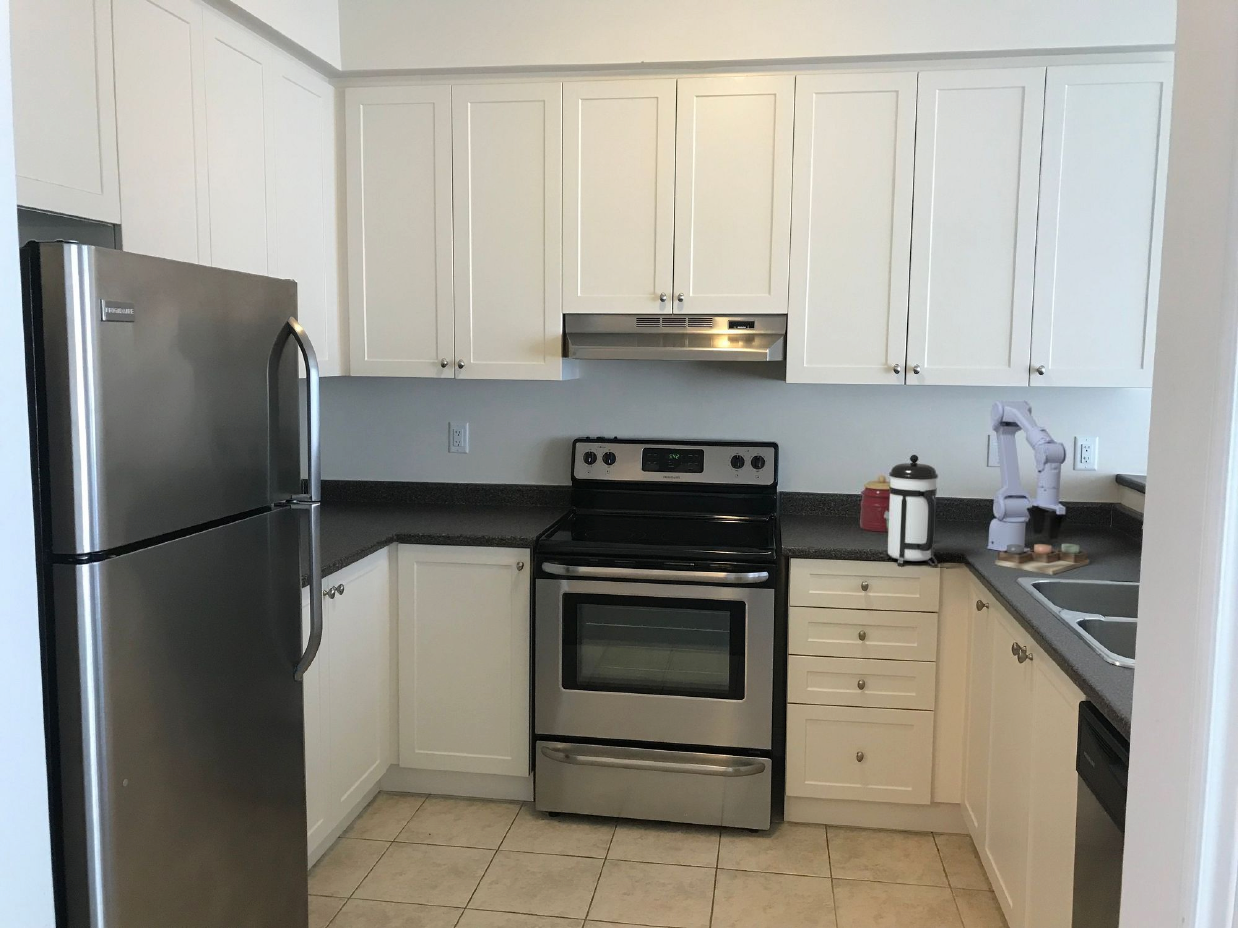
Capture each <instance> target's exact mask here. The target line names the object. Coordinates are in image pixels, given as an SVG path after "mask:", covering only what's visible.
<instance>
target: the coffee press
mask: <svg viewBox="0 0 1238 928" xmlns="http://www.w3.org/2000/svg"><path fill="white" fill-rule="evenodd" d="M909 460H910V462H908V463H907V462H904V463H899V464H896V465H894V466H893V467H892V469H891V471H889V475H888V476H889V477H890V481H889V482H890V486H889V493H890V505H889V530H888V537H887V550H886V551H885V553H884V554H883V559H884V560H889V559H890V558H893V559H897V567H901V568H902V567H904V566H905V563H906V562H907V561H908V562H909V561H910V562H922V561H924V562H927V563H929V565H930V566H931V567H934V566H936V565H937V564H938V560H937V559H936V557H935V555H934V548H935V547H934V546H935V545H934V544H935V543H934V542H935V525H936V524H935V523H936V519H935V518H936V506H937V505H936V504H937V503H936V501H937V500H936V496H937V490H938V489H937V479H938V478H939V474H938V473H937V470H936V469H935V468H934V467H933V466H931V465H929V464H925V463H918V461H919V456H918V455H917V454H912V455H911V456H910V457H909ZM887 554H888V556H889V557H887V556H886V555H887ZM931 558H932V560H933V561H934V563H932V561H931V560H929V559H931Z"/></svg>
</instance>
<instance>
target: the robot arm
mask: <svg viewBox="0 0 1238 928" xmlns="http://www.w3.org/2000/svg"><path fill="white" fill-rule="evenodd" d="M989 413H990V422H991V428H992V431H994V432H995V435H996V443H997V450H998V461H999V469H1000V478H1001V486H1002V487H1001V488H1000V489H999V490H998V491H996V493H995V494H994V495H993V507H992V509H993V515H994V516H995V518H993V519H992V520H991V522H990V524H989V527H988V529H989V530H988V546H986V547H987V548H986V549H988V550H993V551H998V552H1000V551H1004V550H1007V545H1009V544H1015V545H1022V546H1024V552H1026V551H1030V550H1031V548H1029V547H1025V540H1026V536H1025V535H1026V523H1027V522H1029V519H1030V521H1031V525H1032V530H1033V533H1034V534H1043V532H1044V526H1045V520H1046V525H1047V537H1048V539H1050V540H1052V539H1053V540H1057V539H1058V538H1059V535H1060V532H1061V529H1062V526H1063V525H1064V522H1065V521H1066V520H1067V519H1068V517H1069V515H1068V514H1067V513H1066V507H1065V506H1063V505H1062V504H1061V503H1059V502H1060V488H1061V487H1060V486H1061V473H1062V464H1064V463H1065V461H1066V460H1067V449H1066V446H1065V444H1064V443H1063V442H1058V441H1055V439H1053V437H1052V436H1051V434H1050V433H1049V432H1048V431H1047V429H1046V428H1045V427H1044V426H1038V423H1036V421H1035V419H1034V418H1033V416H1032V413H1033V412H1032V406H1031V405H1030V403H1029V401H1027V400H1022V401H1020V400H1019V401H1015V400H1014V401H1009V400H1008V401H1007V400H1005V401H1003V400H1001V401H1000V400H996V401H994V402H993V404H992V406H991V409H990V412H989ZM1020 431H1023V432H1024V433H1025V440H1026V442H1027V443H1028V444H1029V446H1030V447H1031V448H1032V451H1034V453H1033V454H1034V460H1035V468H1036V470H1037V477H1036V479H1037V481H1036V496H1035V497H1036V498H1031V494H1030V492H1029V491H1028V490H1026V489H1025V488H1023V486H1022V484H1021V478H1020V468H1019V460H1018V452H1017V443H1016V433H1018V432H1020Z"/></svg>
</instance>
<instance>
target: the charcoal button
mask: <svg viewBox="0 0 1238 928" xmlns="http://www.w3.org/2000/svg"><path fill="white" fill-rule="evenodd" d="M1024 548H1025V545H1024V546H1022V545H1015V544H1009V545H1007V553H1010V554H1015V555H1022V554H1024Z"/></svg>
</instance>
